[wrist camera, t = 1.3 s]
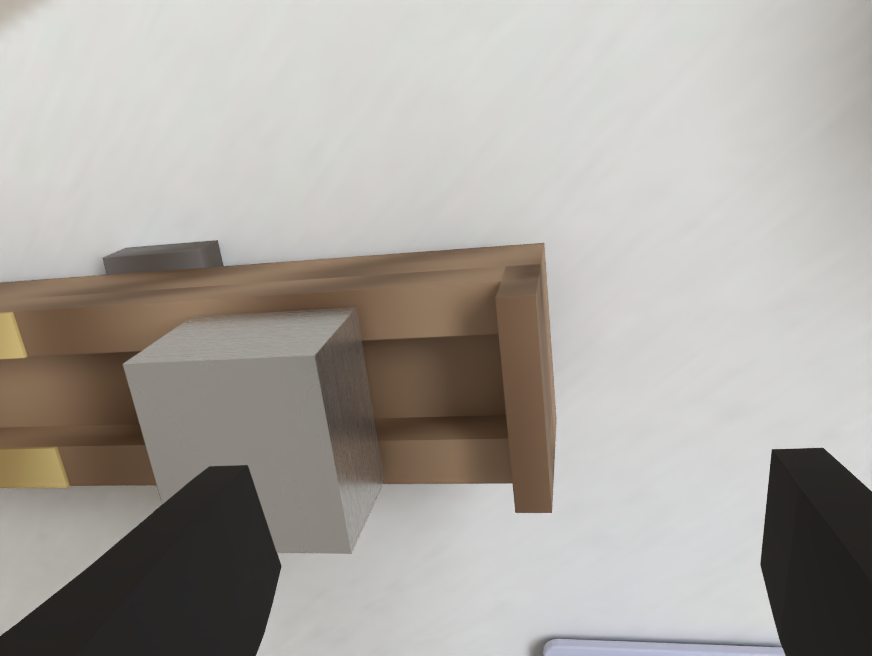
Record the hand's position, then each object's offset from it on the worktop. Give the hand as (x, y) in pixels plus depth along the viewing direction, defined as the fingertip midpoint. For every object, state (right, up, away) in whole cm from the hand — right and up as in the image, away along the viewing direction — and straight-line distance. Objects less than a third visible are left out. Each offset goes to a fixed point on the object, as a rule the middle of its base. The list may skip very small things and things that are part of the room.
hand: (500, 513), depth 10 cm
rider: (-4, +1, +8) cm, 9 cm away
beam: (-8, +2, +12) cm, 15 cm away
